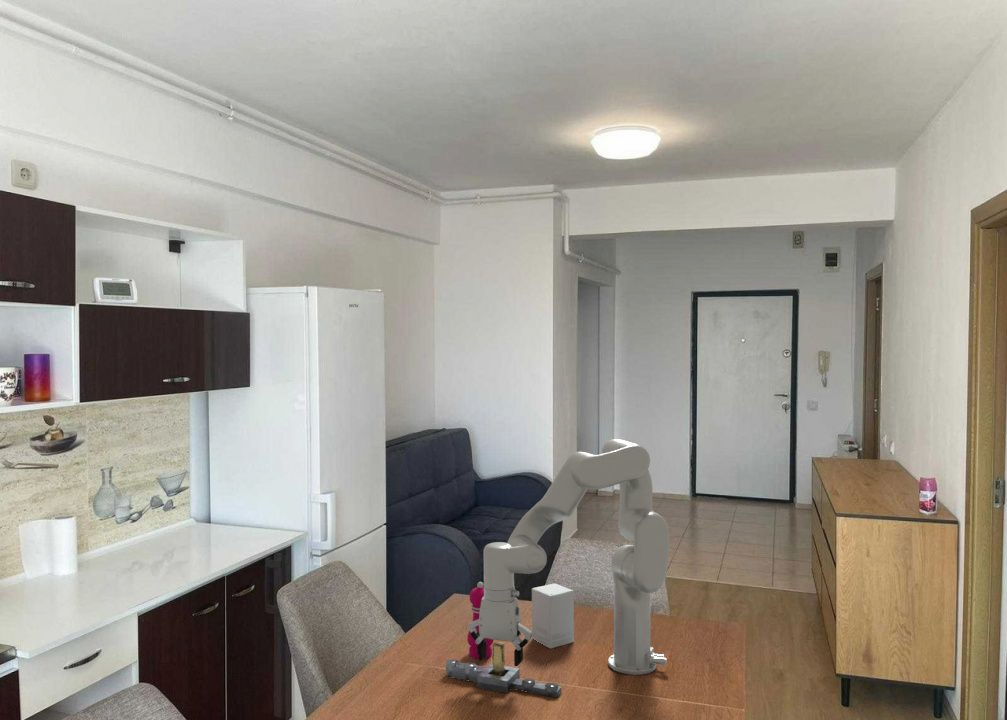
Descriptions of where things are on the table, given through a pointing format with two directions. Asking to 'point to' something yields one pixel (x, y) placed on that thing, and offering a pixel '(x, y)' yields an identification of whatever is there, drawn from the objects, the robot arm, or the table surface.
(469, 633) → the pepper mill
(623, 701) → the table surface
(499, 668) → the brass pin
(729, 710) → the table surface
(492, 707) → the table surface
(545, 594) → the supplement box
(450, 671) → the chain ends
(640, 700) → the table surface
